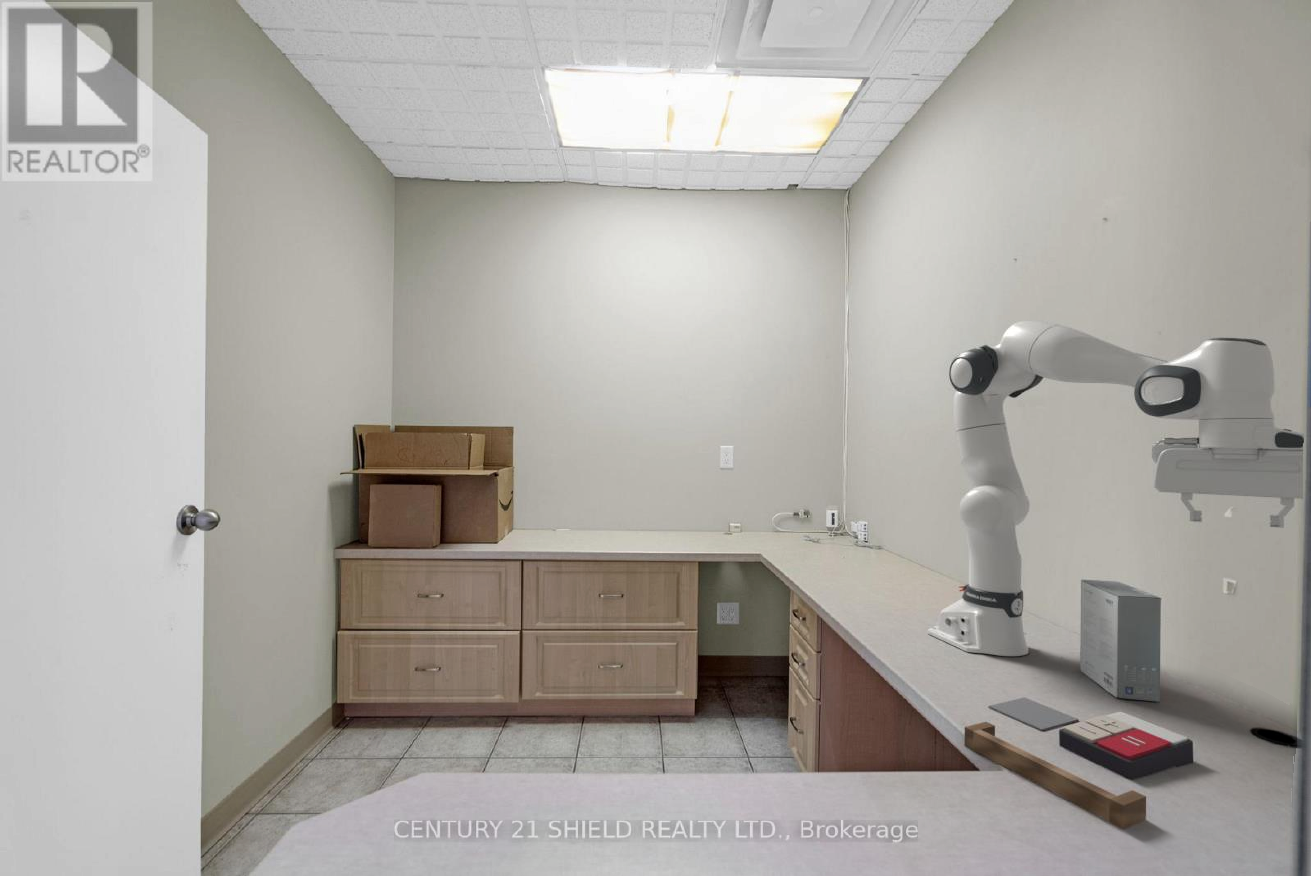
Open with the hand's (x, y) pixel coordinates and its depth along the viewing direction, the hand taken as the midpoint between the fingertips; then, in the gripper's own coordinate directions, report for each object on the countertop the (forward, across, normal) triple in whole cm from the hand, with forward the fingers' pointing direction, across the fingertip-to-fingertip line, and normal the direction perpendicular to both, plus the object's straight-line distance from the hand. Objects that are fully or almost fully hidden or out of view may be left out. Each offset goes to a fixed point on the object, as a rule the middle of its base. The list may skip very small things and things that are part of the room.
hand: (1234, 524), depth 99 cm
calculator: (+37, -13, -13) cm, 41 cm away
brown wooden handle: (+36, -20, -30) cm, 52 cm away
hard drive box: (+36, -17, +20) cm, 45 cm away
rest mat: (+36, -27, -7) cm, 46 cm away
